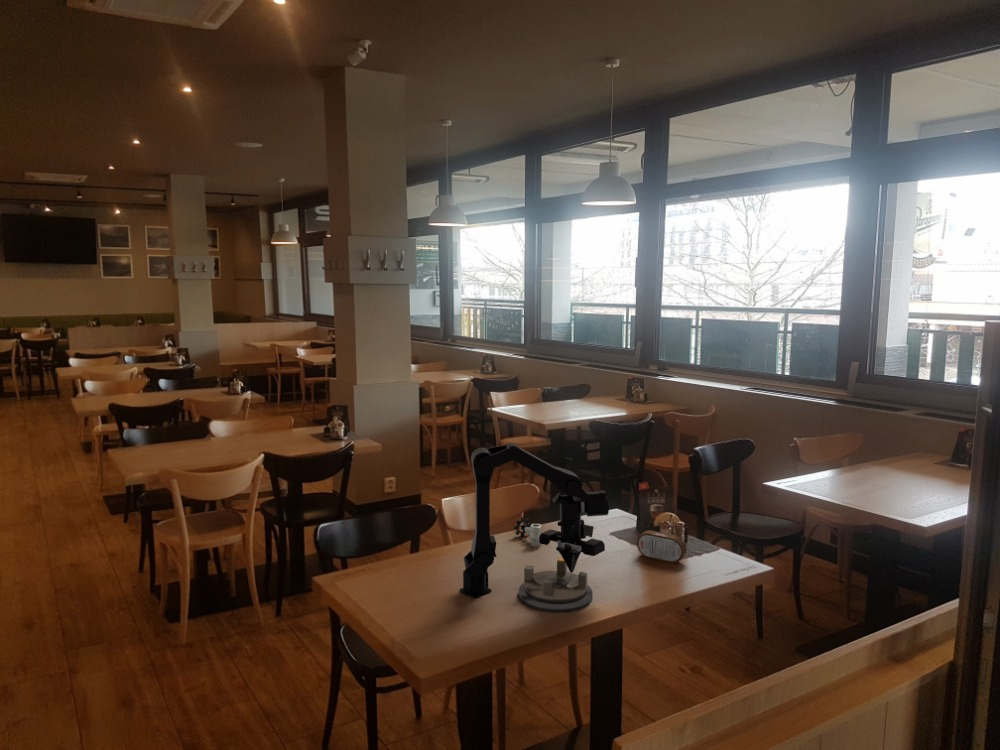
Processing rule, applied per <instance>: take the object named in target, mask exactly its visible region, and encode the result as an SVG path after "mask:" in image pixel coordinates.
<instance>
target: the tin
mask: <svg viewBox="0 0 1000 750" xmlns="http://www.w3.org/2000/svg"><path fill="white" fill-rule="evenodd" d="M636 541H637V542H636V545H637V550H638V551H639V552H640V554H641V555H643V556H644V557H645V558H647V557H648V559H651V558H652V560H656V561H661V562H665V561H667V563H670V562H671V564H675V563H678V562H680V561H681V560H682V559H683V558H684V557H685V555H686V553H687V547H686V544H685V542H684V540H682V538H680V537H679V536H678V535H675V534H670V533H666V532H660V531H655V530H649V529H648V530H644V531H642V532H641V534H640V535H639V536H638V538H637V540H636Z"/></svg>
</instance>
